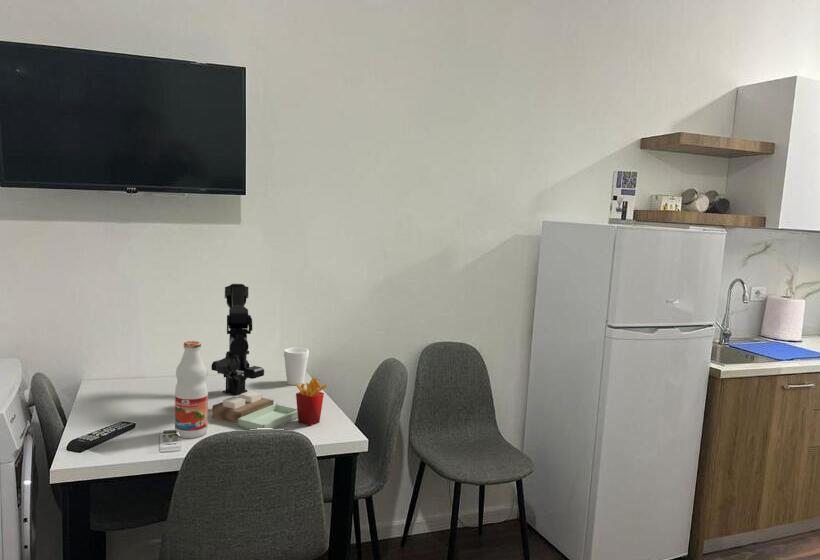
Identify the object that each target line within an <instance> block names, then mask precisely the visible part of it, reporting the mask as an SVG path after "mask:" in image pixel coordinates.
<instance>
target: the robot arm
mask: <svg viewBox="0 0 820 560" xmlns="http://www.w3.org/2000/svg"><path fill="white" fill-rule="evenodd" d="M224 299H226V305H227V307H228V308H229V309H228V314H227V315H226V334H227V335H229V337H228V338H229V343H228V344H229V347H228V348H229V351H226V353H225V357H223V358H222V359H218V360H215V361H213V362H212V364H211V366H210V367H211V368H210V369H211V371H214V372H215V371H216V372H217V374H222V375H223V379H224V378H225V389H224V390H222V393H225V394H228V395H233V396H238V395H240V394H242V393H245V392H248V390H247V389H246V380H247V379H253V380H255V379H257V378H261V377H264V376H265V369H264V368H263V367H262V366H257V365H253V366H252V365H251V364H250V362H249V360H247V357H248V356H247V355H250V351H249V343H248V335H251V334H252V331H253V318H252V316H251V315H250V314H249V309H248V308H247V307H245V305H246V304H247V299H249V286H247V285H245V284H244V283H232V284H231V283H230V285H227V286H225V287H224ZM250 365H251V366H250Z"/></svg>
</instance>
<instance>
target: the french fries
mask: <svg viewBox="0 0 820 560" xmlns="http://www.w3.org/2000/svg"><path fill="white" fill-rule="evenodd" d="M305 385H306V387H305ZM295 386H296V387H297V389H298V390H299V392H296V393H295V399H296V408H297V413H298V419H297V421H298V424H301V425H304V426H308V427H311V426H314V425H316V424H319V423H320V421H321V416H322V415H321V413H322V409H323V408H322V407H323V401H324V397H325V395H324V392H321V391H323V389H324V390H325V388H327V387H328V385H327V383H325V384H323V385H321V384H320V382H319V378H317V377H315V378H314V377H312V378H311V380H310V381H309V382H306V383H302V384H301V385H299V384H298V383H297V384H296V385H295Z"/></svg>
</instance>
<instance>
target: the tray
mask: <svg viewBox="0 0 820 560" xmlns="http://www.w3.org/2000/svg"><path fill="white" fill-rule="evenodd" d="M295 420H298V413H297V407H293V406H290V405H289V406H288V405H284V404H280V403H274V405H271V406H269V407H266V408H264V409H261V410H258V411H256V412H253V413H251V414H248V415H246V416H243V417H241V418H238V424H237V427H238V426H239V427H240V428H243V429H246V430H250V429H257V428H275V429H277V428H279V427H281V425H282V426H283V424H284V425H286V424H288V422H289V423H290V422H292V421H295ZM239 427H238V428H239ZM276 427H277V428H276Z"/></svg>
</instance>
